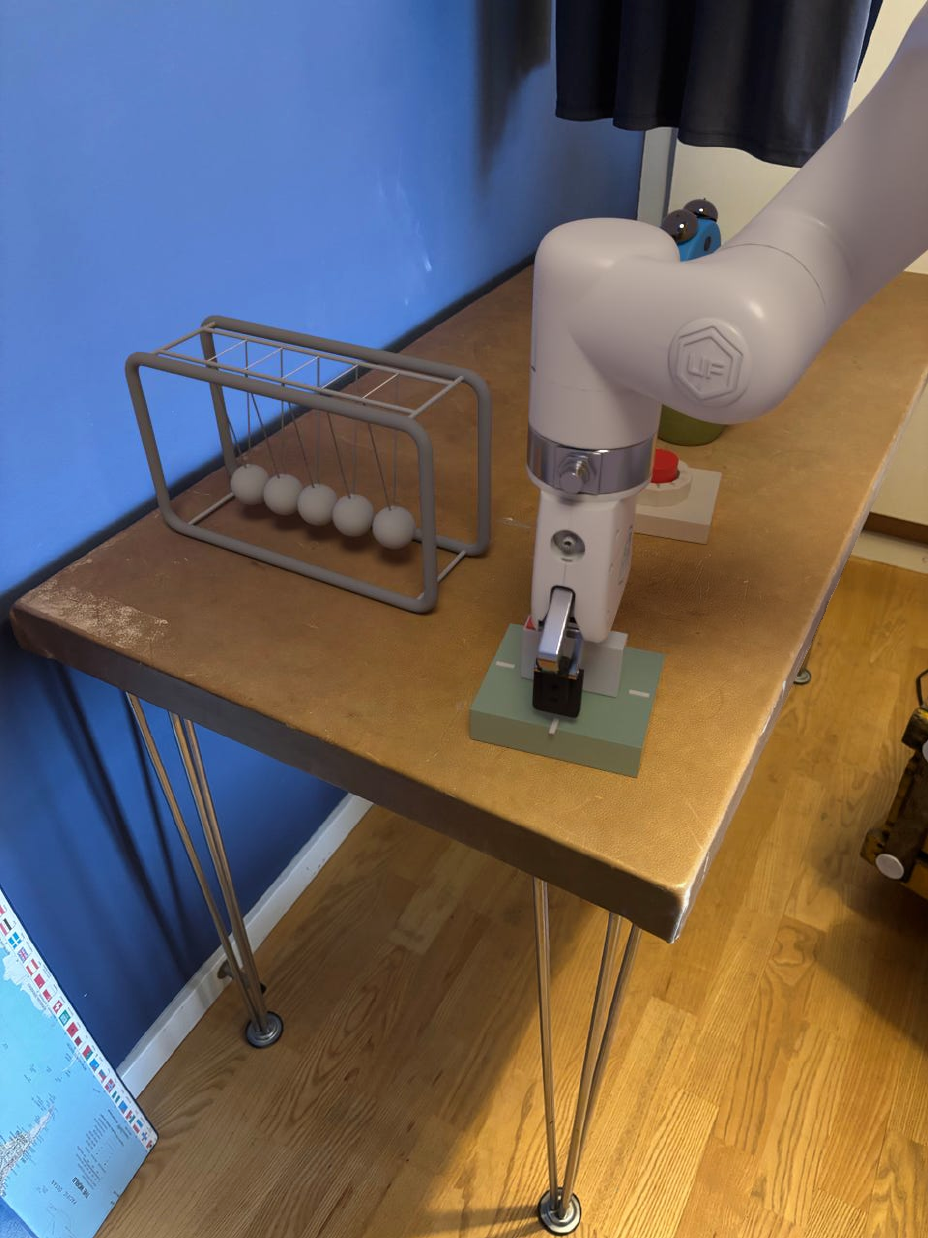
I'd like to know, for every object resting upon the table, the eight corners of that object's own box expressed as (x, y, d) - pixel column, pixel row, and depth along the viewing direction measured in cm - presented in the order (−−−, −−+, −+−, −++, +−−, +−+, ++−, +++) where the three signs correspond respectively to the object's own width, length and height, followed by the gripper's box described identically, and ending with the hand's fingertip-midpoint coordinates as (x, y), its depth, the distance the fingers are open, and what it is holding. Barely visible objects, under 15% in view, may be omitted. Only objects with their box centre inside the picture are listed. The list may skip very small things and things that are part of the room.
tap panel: (662, 678, 70) (667, 646, 68) (635, 785, 61) (640, 752, 59) (511, 647, 73) (512, 616, 71) (467, 744, 64) (466, 712, 63)
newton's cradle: (492, 558, 82) (494, 371, 71) (434, 622, 75) (426, 426, 64) (233, 480, 94) (200, 309, 83) (162, 529, 87) (115, 349, 76)
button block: (718, 491, 91) (725, 455, 89) (706, 545, 84) (713, 507, 81) (600, 473, 94) (603, 438, 92) (578, 523, 87) (581, 486, 84)
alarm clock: (674, 300, 133) (689, 190, 124) (714, 308, 131) (732, 196, 121) (635, 328, 125) (648, 212, 116) (677, 337, 122) (694, 220, 113)
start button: (679, 467, 88) (681, 451, 87) (672, 488, 85) (675, 471, 84) (637, 461, 89) (639, 445, 88) (630, 481, 86) (632, 465, 85)
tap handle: (621, 681, 65) (628, 630, 62) (616, 698, 64) (623, 646, 61) (527, 661, 67) (529, 611, 64) (520, 677, 65) (522, 626, 62)
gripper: (626, 537, 46) (597, 769, 57) (676, 395, 59) (645, 607, 70) (485, 513, 48) (483, 742, 59) (563, 380, 61) (550, 589, 72)
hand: (571, 668), depth 65 cm, fingers open, 8 cm apart
